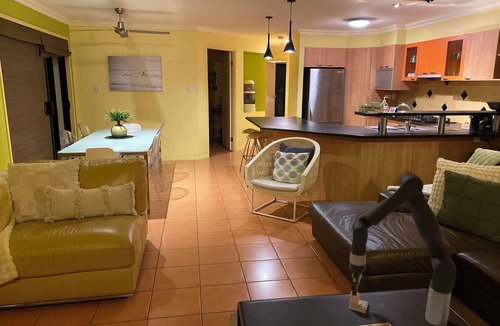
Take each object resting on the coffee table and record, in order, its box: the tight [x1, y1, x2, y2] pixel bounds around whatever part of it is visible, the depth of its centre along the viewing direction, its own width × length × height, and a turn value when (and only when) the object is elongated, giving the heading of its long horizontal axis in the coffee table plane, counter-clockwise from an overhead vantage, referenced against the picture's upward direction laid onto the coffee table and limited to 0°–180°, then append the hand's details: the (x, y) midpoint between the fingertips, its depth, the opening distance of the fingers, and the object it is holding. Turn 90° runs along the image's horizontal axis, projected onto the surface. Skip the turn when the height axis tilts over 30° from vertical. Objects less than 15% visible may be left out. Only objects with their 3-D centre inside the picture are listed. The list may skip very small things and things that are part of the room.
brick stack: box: [348, 290, 361, 308], centre depth 180 cm, size 4×4×6 cm
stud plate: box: [348, 299, 369, 314], centre depth 182 cm, size 8×8×2 cm
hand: (355, 290), depth 179 cm, fingers open, 8 cm apart
